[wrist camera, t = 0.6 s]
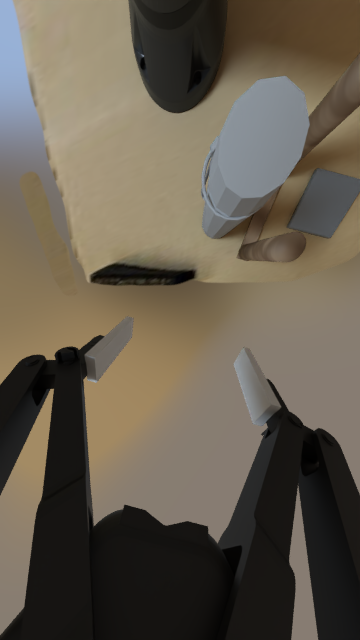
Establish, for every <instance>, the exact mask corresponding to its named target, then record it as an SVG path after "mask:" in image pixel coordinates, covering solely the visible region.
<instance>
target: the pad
mask: <svg viewBox="0 0 360 640" xmlns="http://www.w3.org/2000/svg"><path fill="white" fill-rule="evenodd" d="M359 192H360V179H357V178H353V177H350V176H346V175H342V174H338V173H335V172H331V171H327V170H324V169H320V168H317V169H316V170H315V171H314V173H313V175H312V177H311V179H310V181H309V183H308V185H307V187H306V189H305V191H304V193H303V195H302V197H301V199H300V201H299V203H298V205H297V208H296V210H295V212H294V214H293V216H292V218H291V220H290V222H289V224H288V226H287V228H290V229H294V230H298V231H302V232H305V233H309V234H313V235H317V236H320V237H324V238H331V237H332V235H333V233H334V232H335V230H336V229H337V227H338V225H339V224H340V222H341V221H342V219H343V218H344V216H345V214H346V213H347V211H348V210H349V208H350V206H351V205H352V203H353V202H354V200H355V198H356V197H357V195H358V194H359Z"/></svg>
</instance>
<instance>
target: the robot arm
mask: <svg viewBox="0 0 360 640" xmlns="http://www.w3.org/2000/svg"><path fill="white" fill-rule="evenodd" d="M129 11H130V23H131V34H132V42H133V48H134V53H135V57H136V61H137V64H138V68H139V71H140V74H141V77H142V80H143V83H144V85H145V87H146V89H147V91H148V93H149V95H150V96H151V98H152V99H153V100H154V101H155V102H156V103H157V104H158V105H159V106H160V107H161V108H163V109H165V110H167V111H170V112H183V111H186V110H188V109H190V108H192V107H193V106H195V105H196V104H197V103H198V102H199V101H200V100H201V99H202V98H203V97H204V95H205V94H206V93H207V91H208V90H209V88H210V86H211V84H212V82H213V80H214V78H215V76H216V73H217V70H218V67H219V64H220V60H221V56H222V51H223V45H224V37H225V29H226V20H227V0H129ZM133 319H134V318H132V317H128V316H127V317H126V318H125V319H124V320H122V321H121V322H120V323H119V324H118V325H117V326H116V327H115V328H114V329H112V330H111V331H110V332H109V333H108V334H107V335H106V336H101V335H99V336H97V337H94V338H93V339H92V340H91V341H90V342H88V343H87V344H86V345H85V346H83V347H82V348H81V349H80V350H78V348H76V347H65V348H62V349H60V350H58V351H57V352H56V353H55V358H56V360H46V358H45V356H43V355H32V356H29V357H26V358H24V359H22V360H21V361H20V362H19V363H18V364H17V365H16V366H15V368H14V369H13V370H12V371H11V373H10V374H9V375H8V376H7V377H6V379H5V380H4V381H3V382H2V384H1V385H0V495H1V493H2V490H3V488H4V486H5V484H6V482H7V480H8V478H9V476H10V474H11V471H12V469H13V467H14V465H15V463H16V461H17V459H18V457H19V454H20V452H21V450H22V448H23V446H24V444H25V442H26V440H27V438H28V435H29V433H30V431H31V429H32V427H33V425H34V423H35V420H36V418H37V416H38V414H39V412H40V410H41V408H42V406H43V404H44V402H45V399H46V397H47V395H48V393H49V391H50V389H54V394H53V403H52V413H51V422H50V432H49V440H48V450H47V459H46V468H45V477H44V486H43V494H42V499H41V501H40V503H39V505H38V509H37V513H36V519H35V525H34V534H33V542H32V550H31V558H30V566H29V574H28V582H27V590H26V599H25V607H24V608H23V610H22V611H21V612H20V613H19V614H18V615H17V617H16V618H15V619H14V620H13V621H12V623H11V624H10V625H9V626H8V627H7V628H6V629H5V631H4V632H3V633H2V634H1V635H0V640H291V634H292V623H293V612H294V600H295V576H294V572H293V570H292V568H291V566H290V564H289V554H290V545H291V537H292V529H293V520H294V512H295V504H296V496H297V488H298V486H299V493H300V501H301V508H302V516H303V524H304V532H305V540H306V547H307V555H308V563H309V570H310V578H311V586H312V593H313V602H314V609H315V617H316V625H317V633H318V640H360V495H359V492H358V489H357V487H356V484H355V482H354V479H353V477H352V474H351V472H350V469H349V467H348V464H347V462H346V459H345V457H344V454H343V452H342V449H341V447H340V445H339V444H338V442H337V441H336V440H335V438H334V437H333V436H332V435H331V434H329V433H328V432H326V431H325V430H323V429H320V428H318V429H316V430H315V431H313V430H311V429H310V428H308V427H306V426H304V425H303V423H302V422H301V420H300V419H299V418H298V417H297V416H296V415H294V414H293V413H291V412H289V411H288V409H287V407H286V405H285V403H284V402H283V400H282V398H281V397H280V395H279V393H278V391H277V390H276V388H275V386H274V385H273V383H272V382H271V381H270V380H269V379H266V378H265V376H264V374H263V372H262V370H261V368H260V367H259V365H258V363H257V361H256V359H255V357H254V356H253V354H252V352H251V350H250V349H248V348H245V347H243V349H242V351H241V352H240V354H239V356H238V357H237V359H236V361H235V363H234V367H235V370H236V373H237V376H238V379H239V382H240V385H241V388H242V391H243V395H244V398H245V401H246V404H247V407H248V410H249V413H250V416H251V419H252V422H253V424H256V425H259V426H263V425H264V424H265V423H267V426H268V428H267V429H266V430H265V431H264V432H263V433H262V434H261V435H264V436H263V439H262V441H261V444H260V446H259V449H258V452H257V454H256V457H255V459H254V462H253V464H252V467H251V470H250V472H249V475H248V477H247V480H246V482H245V485H244V488H243V490H242V492H241V495H240V498H239V500H238V503H237V506H236V508H235V510H234V513H233V516H232V518H231V521H230V523H229V525H228V527H227V528H226V530H225V531H224V533H223V534H222V536H221V538H220V540H219V542H218V544H217V542H216V541H215V540H214V539H213V538H212V537H211V536H210V535H209V534H208V527H207V526H204V525H200V524H196V523H192V522H189V521H186V522H182V523H177V524H173V525H168V526H165V525H163V524H162V523H160V522H159V521H158V520H157V519H155V518H154V517H153V516H151V515H150V514H149V513H148V512H147V511H146V510H142V509H139V508H135V507H131V506H128V505H124V508H123V510H118V511H115V512H113V513H111V514H109V515H107V516H106V517H104V518H103V519H102V520H101V521H99V522H98V523H97V524H96V525H95V526H94V523H93V509H92V498H91V487H90V473H89V457H88V442H87V430H86V429H87V427H86V412H85V397H84V382H83V379H84V378H85V377H86V376H87V379H88V380H89V381H93V382H97V381H98V380H99V379H100V378H101V376H102V375H103V374H104V372H105V371H106V370H107V368H108V367H109V366H110V365H111V363H112V362H113V361H114V360H115V358H116V357H117V356H118V354H119V353H120V352H121V350H122V349H123V348H124V347H125V345H126V344H127V343H128V341H129V340H130V339H131V338H132V331H133Z"/></svg>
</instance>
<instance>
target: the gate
mask: <svg viewBox="0 0 360 640" xmlns="http://www.w3.org/2000/svg"><path fill="white" fill-rule="evenodd" d="M359 106H360V53H359V55H358V56H357V57H356V58H355V60H354V61H353V62H352V63H351V65H350V66H349V67H348V68H347V70H346V71H345V72H344V73H343V75H342V76H341V77H340V78H339V80H338V81H337V82H336V83H335V85H334V86H333V87H332V88H331V90H330V91H329V92H328V93H327V95H326V96H325V97H324V98H323V100H322V101H321V102H320V103H319V105H318V106H317V107H316V108H315V110H314V111H313V112H312V113H311V115H310V116H309V123H310V125H309V128H308V132H307V136H306V140H305V144H304V148H303V152H302V156H301V158H300V159H299V161H300V160H301V159H302V158H304V157H305V156H306V155H307V154H308V153H309V152H310V151H311V150H312V149H313V148H314V147H315V146H316V145H318V144H319V143H320V142H321V141H322V140H323V139H324V138H325V137H326V136H327V135H328V134H329V133H331V132H332V131H333V130H334V129H335V128H336V127H337V126H338V125H339V124H340V123H341V122H342V121H343V120H345V119H346V118H347V117H348V116H349V115H350V114H351V113H352V112H353V111H354V110H355V109H356V108H357V107H359ZM299 161H298V162H299ZM298 162H297V163H298ZM279 188H280V187H279ZM278 190H279V189H278ZM278 190H277V191H276V192H275V193H274V194H273V195H272V196H271V197H270V198H269V200H268V201H267V202H266V203H265V204H264V206H263V207H262V208H260V209H259V210H258V211H257V212H255V213H254V214H253V217H252V219H251V222H250V224H249V227H248V229H247V232H246V235H245V237H244V240H243V242H242V245H241V248H240V249H239V253H238V255H237V258H238V259H242V260H245V261H249V260H255V261H272V262H291V261H293V260H295V259H297V258H298V257H299V256H300V255H301V254H302V253H303V251H304V249H305V246H306V239H305V237H304V235H303V234H302V233H300V232H291V233H287V234H283V235H279V236H275V237H271V238H268V239H264V240H260V241H257V240H258V238H259V235H260V233H261V230H262V228H263V226H264V223H265V221H266V219H267V216H268V214H269V212H270V209H271V207H272V205H273V202H274V200H275V198H276V195H277V193H278Z"/></svg>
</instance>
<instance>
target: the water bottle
mask: <svg viewBox="0 0 360 640" xmlns="http://www.w3.org/2000/svg"><path fill="white" fill-rule="evenodd" d="M309 125H310V123H309V117H308V111H307V105H306V99H305V93H304V92H303V91H302V90H300V89H299V88H298V87H297V86H296V85H295V84H294V83H293V82H292V81H291V80H289V79H288V78H287V77H286V76H280V77H273V78H266V79H259V80H258V81H257V82H256V83H254V84H253V85H252V86H251V87H250V88H249V89H248V90H247V91H246V92H245V93H244V94H243V95H242V96H240V97H239V98H238V99H237V100H236V101H235V102H234V104H233V107H232V109H231V111H230V113H229V115H228V118H227V120H226V122H225V124H224V126H223V128H222V131H221V133H220V136H219V137H218V136H217V137H216V139H215V140H214V141H213V143H212V144H211V146H210V152H209V154H208V155H207V157H206V159H205V163H204V167H203V172H202V189H201V195H202V198H203V199H204V200H205V206H204V212H203V222H202V227H203V230H204V232H205V234H206V235H207V236H209V237H210V238H221V237H222V236H224V235H225V234H227V233H228V232H229V231H231V230H232V229H233V228H235V227H236V226H237V225H238V224H240V223H241V222H242V221H244V220H245V219H246V218H248V217H249V216H251V215H252V214H254V213H255V212H257V211H258V210H259V209H260V208H262V207H263V206H264V204H265V203H266V202H267V201H268V200H269V198H270V197H271V196H272V195H273V194H274V193H275V192H276V191H277V190H278V189H279V187H280V186H281V185H282V184H283V183H284V182H285V180H286V179H287V177H288V176H289V174H290V173H291V171H292V170H293V168H294V167H295V165H296V164H297V162H298V161H299V159H300V158H301V156H302V152H303V148H304V144H305V140H306V136H307V132H308V128H309ZM210 157H211V161H210V164H209V167H208V170H207V173H206V168H207V165H208V162H209V159H210ZM205 174H206V177H205ZM208 176H209V181H208V187H207V193H206V188H205V184H206V182H207V179H208Z"/></svg>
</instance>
